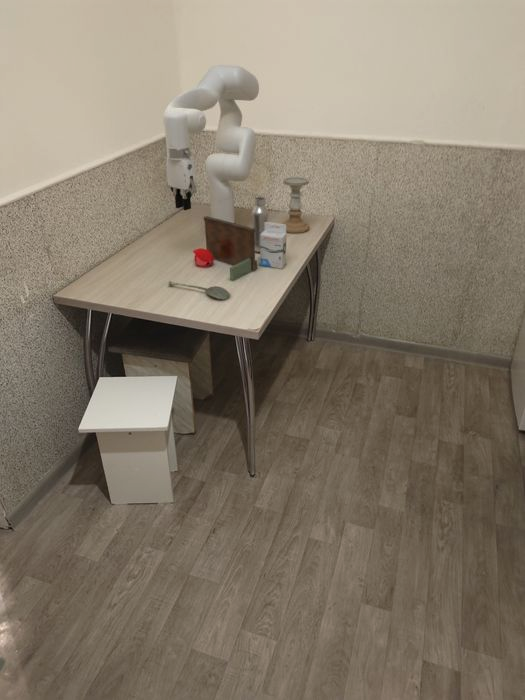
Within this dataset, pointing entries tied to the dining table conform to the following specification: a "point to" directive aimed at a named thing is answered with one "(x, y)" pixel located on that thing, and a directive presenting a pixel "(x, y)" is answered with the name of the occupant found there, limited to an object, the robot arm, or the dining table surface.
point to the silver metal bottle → (259, 219)
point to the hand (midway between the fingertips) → (183, 207)
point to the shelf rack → (231, 245)
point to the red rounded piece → (203, 257)
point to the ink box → (273, 245)
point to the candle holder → (295, 205)
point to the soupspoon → (209, 290)
